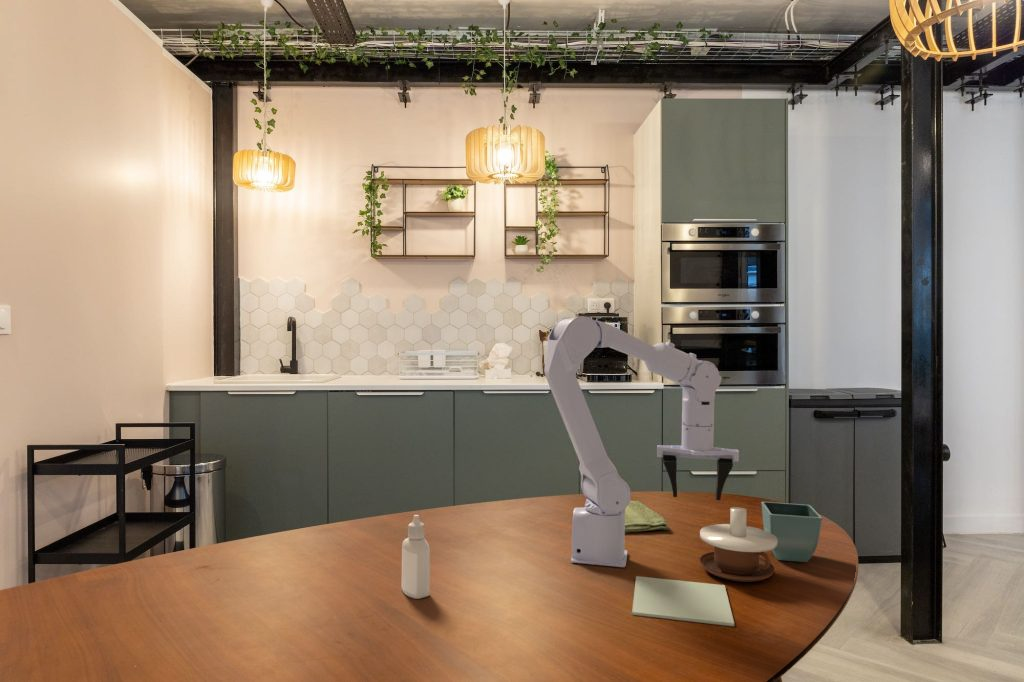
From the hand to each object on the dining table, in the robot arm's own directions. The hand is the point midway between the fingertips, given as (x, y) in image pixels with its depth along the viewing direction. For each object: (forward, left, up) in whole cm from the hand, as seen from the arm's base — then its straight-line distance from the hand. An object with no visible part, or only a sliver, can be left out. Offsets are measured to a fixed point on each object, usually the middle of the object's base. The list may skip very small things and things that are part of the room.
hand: (696, 497), depth 118 cm
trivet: (-3, -23, -10) cm, 25 cm away
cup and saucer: (+6, -8, -11) cm, 15 cm away
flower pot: (+17, +2, -11) cm, 20 cm away
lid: (+6, -9, -4) cm, 12 cm away
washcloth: (-13, +17, -11) cm, 25 cm away
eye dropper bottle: (-43, -31, -11) cm, 54 cm away
